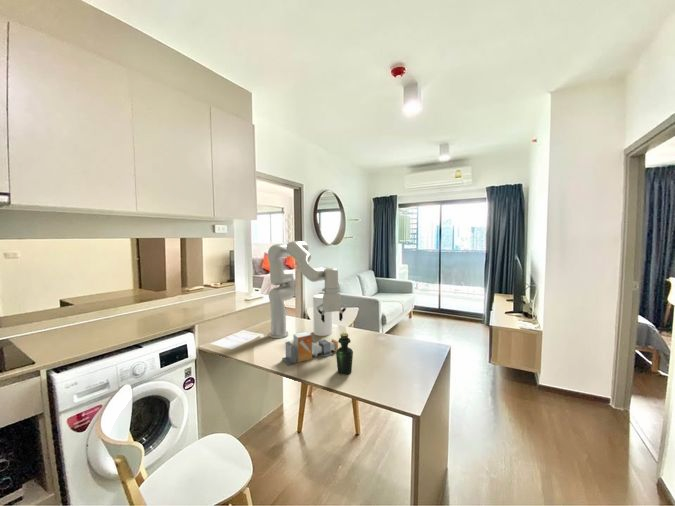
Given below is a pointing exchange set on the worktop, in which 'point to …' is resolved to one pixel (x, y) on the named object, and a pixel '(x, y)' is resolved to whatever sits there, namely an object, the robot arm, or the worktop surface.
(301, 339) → the small box
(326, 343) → the guide block
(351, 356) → the potion bottle
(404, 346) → the worktop surface
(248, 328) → the worktop surface
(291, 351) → the plate
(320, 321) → the cylinder
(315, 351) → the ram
